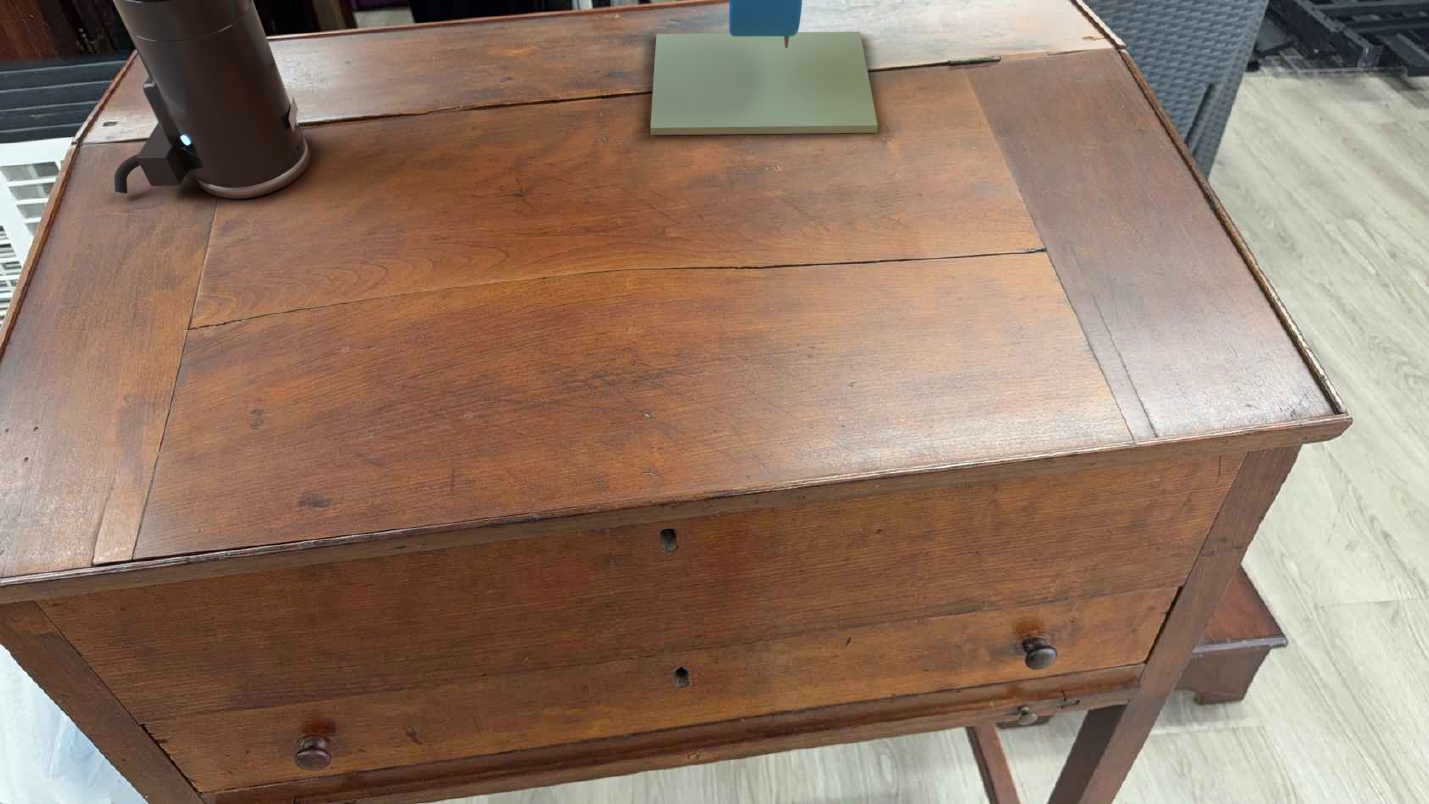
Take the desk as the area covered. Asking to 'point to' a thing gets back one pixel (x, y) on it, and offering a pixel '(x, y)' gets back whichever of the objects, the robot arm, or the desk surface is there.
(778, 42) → the mat
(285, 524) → the desk surface
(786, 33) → the alarm clock
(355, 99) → the desk surface
